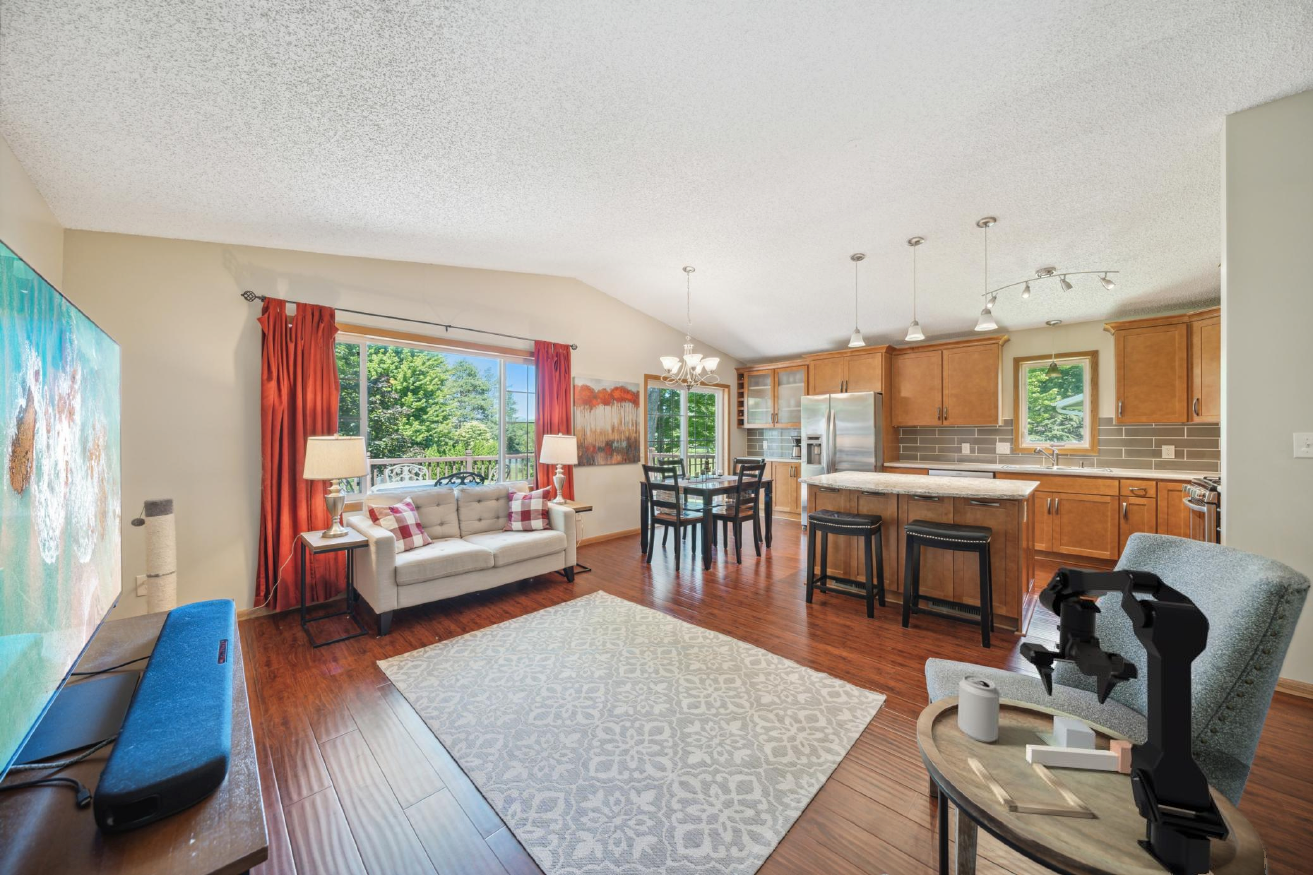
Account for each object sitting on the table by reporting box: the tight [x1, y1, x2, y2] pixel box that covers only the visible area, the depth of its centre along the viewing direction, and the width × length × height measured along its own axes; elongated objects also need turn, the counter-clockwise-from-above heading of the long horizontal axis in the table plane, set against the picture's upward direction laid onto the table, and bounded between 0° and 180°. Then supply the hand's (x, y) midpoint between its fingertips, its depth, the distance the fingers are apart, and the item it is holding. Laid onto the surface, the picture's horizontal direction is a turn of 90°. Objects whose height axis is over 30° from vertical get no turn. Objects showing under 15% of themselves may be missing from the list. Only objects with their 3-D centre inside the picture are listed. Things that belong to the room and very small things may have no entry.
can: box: [957, 674, 1000, 743], centre depth 106 cm, size 8×8×12 cm
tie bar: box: [1025, 739, 1133, 774], centre depth 96 cm, size 2×20×5 cm, turn 86°
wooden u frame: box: [967, 757, 1094, 819], centre depth 89 cm, size 12×14×1 cm
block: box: [1052, 715, 1096, 750], centre depth 102 cm, size 5×5×5 cm
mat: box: [1035, 732, 1097, 750], centre depth 102 cm, size 9×9×1 cm
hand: (1074, 699), depth 102 cm, fingers open, 9 cm apart
